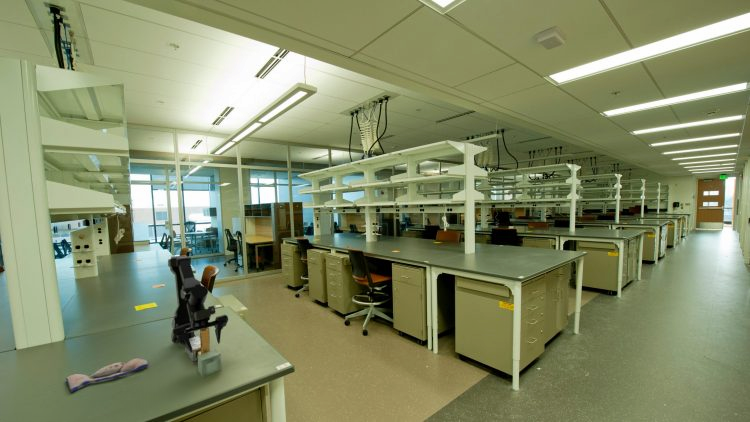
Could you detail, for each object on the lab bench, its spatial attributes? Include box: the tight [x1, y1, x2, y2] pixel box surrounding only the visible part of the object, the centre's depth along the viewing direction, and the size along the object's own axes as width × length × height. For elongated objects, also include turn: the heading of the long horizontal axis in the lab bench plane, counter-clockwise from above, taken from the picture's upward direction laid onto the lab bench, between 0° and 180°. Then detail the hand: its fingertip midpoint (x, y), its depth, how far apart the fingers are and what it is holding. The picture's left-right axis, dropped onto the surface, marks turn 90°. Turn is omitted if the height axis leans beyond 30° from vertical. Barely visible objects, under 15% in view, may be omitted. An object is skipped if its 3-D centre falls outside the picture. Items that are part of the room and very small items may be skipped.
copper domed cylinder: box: [196, 327, 211, 357], centre depth 109 cm, size 20×3×13 cm, turn 46°
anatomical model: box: [65, 357, 149, 392], centre depth 103 cm, size 20×3×15 cm
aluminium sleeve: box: [184, 335, 201, 362], centre depth 116 cm, size 12×5×5 cm, turn 46°
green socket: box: [197, 349, 222, 378], centre depth 103 cm, size 6×6×6 cm
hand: (205, 347), depth 106 cm, fingers open, 9 cm apart
